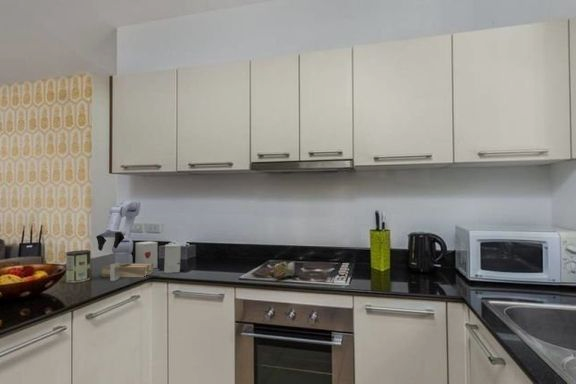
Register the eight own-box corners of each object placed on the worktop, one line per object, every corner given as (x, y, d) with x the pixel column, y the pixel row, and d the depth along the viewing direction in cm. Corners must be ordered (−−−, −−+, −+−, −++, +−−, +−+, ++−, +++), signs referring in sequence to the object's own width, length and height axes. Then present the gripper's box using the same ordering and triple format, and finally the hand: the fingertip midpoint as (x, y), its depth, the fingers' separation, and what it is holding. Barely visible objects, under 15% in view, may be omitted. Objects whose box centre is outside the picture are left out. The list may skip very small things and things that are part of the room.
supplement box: (143, 270, 183) (143, 243, 183) (134, 268, 188) (134, 242, 189) (158, 267, 190) (158, 242, 191) (149, 266, 196) (149, 240, 196)
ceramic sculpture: (299, 260, 164) (273, 265, 157) (300, 277, 164) (274, 283, 157) (288, 257, 173) (263, 261, 166) (289, 273, 173) (264, 278, 166)
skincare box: (164, 273, 176) (164, 245, 176) (164, 271, 181) (164, 244, 182) (180, 272, 178) (180, 244, 178) (180, 270, 184) (180, 243, 184)
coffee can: (79, 277, 169) (79, 249, 169) (95, 278, 166) (95, 250, 166) (60, 282, 159) (60, 252, 159) (77, 283, 156) (77, 253, 156)
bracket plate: (115, 278, 165) (115, 262, 165) (119, 278, 165) (119, 262, 165) (110, 280, 160) (110, 264, 160) (114, 280, 160) (114, 264, 160)
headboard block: (113, 272, 179) (113, 263, 179) (152, 272, 178) (152, 263, 178) (101, 277, 168) (101, 267, 168) (143, 277, 167) (143, 267, 167)
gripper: (95, 223, 169) (88, 246, 160) (123, 219, 169) (117, 242, 160) (102, 231, 174) (96, 253, 165) (129, 227, 174) (124, 249, 165)
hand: (107, 248), depth 163 cm, fingers open, 7 cm apart
